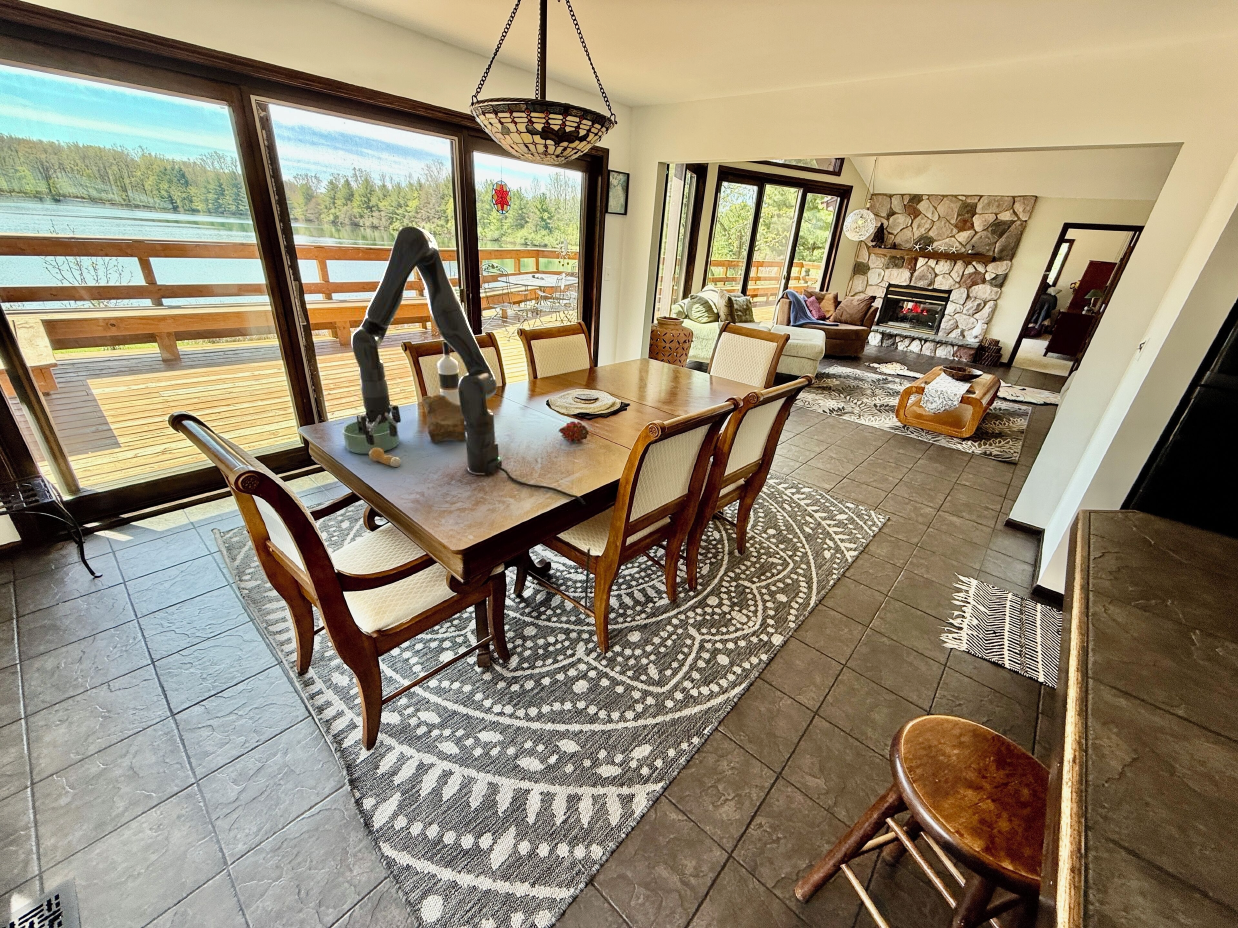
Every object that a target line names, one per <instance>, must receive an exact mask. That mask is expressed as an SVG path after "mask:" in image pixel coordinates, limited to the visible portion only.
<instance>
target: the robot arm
mask: <svg viewBox="0 0 1238 928" xmlns="http://www.w3.org/2000/svg"><path fill="white" fill-rule="evenodd" d="M439 250H440V249H439V247H438V244H437V242H436V240H435V238H434V236H433V235H432V234H430V233H429V232H428V231H427V230H424V229H423V228H419V227H417V226H413V225H407V226H404V227H402V228H400V229H399V231H398V232H397V233H396V237H395V239H394V243H393V246H392V249H391V252H390V256H389V259H388V261H387V265H386V268H385V270H384V273H383V276H382V278H381V280H380V283H379V285H378V287H377V289H376V291H375V293H374V295H373V297H372V298H371V301H370V302H369V305H368V307H367V309H366V312H365V317H364V319H363V321H362V323H361V325H360V326H359V328H358V329H357V330H355V331H354V332H353V333H352V335H351V339H350V341H351V349H352V352H353V355H354V357H355V358H354V359H355V361H356V363H357V366H358V373H359V379H360V391H361V398H362V404H363V407H364V410H365V414H356V421H357V424H358V432H359V433H361V434H364V435H365V436H366V442H367V443H368V444H369V445H374V444H375V443H374V437H373V434H372V433H373V431H374V429H375V428H376V427H377V425H379V424H381V423H385V422H387V423H388V424H390V425H389V432H390V436H392V437H395V436H396V434H397V430H396V425H397V426H398V424H401V422H402V418H401V414H400V408H399V406H398V405H396V404H393V403H392V404H391V399H390V394H389V386H388V383H387V382H388V381H387V378H386V372H385V366H384V362H383V361H382V359H380V353H379V347H380V346H381V345H382V343H383V341H384V339H385V336H386V334H387V331H388V329H389V326H390V325H391V324H392V322H393V320H394V319H395V317H396V314H397V313H398V311H399V310H400V307H401V305H402V301H403V297H404V293H405V289H406V286H407V282H408V280H409V277H410V276H411V274H412V272H413V271H414V269H417V272H418V273H419V275H420V278H421V280H422V283H423V285H424V288H425V294H426V300H427V306H428V310H429V314H430V315H431V316H430V317H431V319H432V321H433V323H434V325H435V328H436V330H437V332H438V334H439V336H440V337H441V339H443V341H445V342H446V343H447V344H448V345H449V348H451V349H452V350H453V351H454V352H455V353H456V354H457V355H458V356H459V358H460V359H461V361H462V364H463V365H464V367H465V370H466V372H467V373H466V374H464V375H462V376H461V377H460V378H459V383H458V395H459V402H460V409H461V413H462V415H463V417H464V424H465V436H466V441H465V446H466V459H467V472H468V473H469V474H471V475H474V476H486V477H489V476H490V475H492V474H494V473H496V472H497V471H499V470H500V471H502V472H503V473H504V474H505V475H506V476H507V478H509V480H511V481H512V482H513V483H516V484H518V485H521V486H525V487H529V488H536V489H546V490H550V491H553V492H556V493H559V494H562V495H564V496H566V497H569V498H574V499H577V500H578V501H579V502H580V503H581V504H582V505H586V502H585V501H584V500H583V498H582V497H580V496H579V495H577V494H572V493H568V492H566V491H564V490H561V489H558V488H556V487H552V486H549V485H548V486H547V485H542V484H541V485H540V484H533V483H528V482H524V481H521V480H518V479H516V478H514V477H513V476H512V475H510V473H509V471H507V470H506V469H505V468H504V467H503V460H502V459H500V455H499V443H498V442H496V429H495V428H496V427H495V426H496V425H495V414H494V412H493V410H490V409H488V404H487V399H489V398H491V397H493V396H494V395H495V394H496V392H497V389H498V388H497V387H498V385H497V380H496V377H495V374H494V373H493V371H492V369H491V368H490V365H489V364H488V362H487V360H486V359H485V356H484V355H483V353H482V351H481V348H480V346H479V344H478V342H477V340H476V338H475V335H474V333H473V330H472V328H471V326H470V323H469V320H468V318H467V316H466V313H465V311H464V309H463V307H462V304H461V303H460V300H459V298H458V296H457V294H456V291H455V289H454V287H453V285H452V283H451V281H450V279H449V277H448V275H447V272H446V270H445V269H446V268H445V266H444V263H443V260H442V256H441V253H440V251H439ZM390 414H391V415H390ZM367 419H368V420H367ZM371 423H373V424H372V425H371ZM590 560H591V547H589V548H587V551H586V569H585V570H586V572H585V586H584V587H585V588H584V611H587V610H588V595H589V594H588V593H589V577H590V564H591V563H590V562H591V561H590Z"/></svg>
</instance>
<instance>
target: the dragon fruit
mask: <svg viewBox="0 0 1238 928" xmlns="http://www.w3.org/2000/svg"><path fill="white" fill-rule="evenodd" d="M558 433H560V434H561V435H560V436H561V437H562V439H564V440H565V439H567V440H568V441H570V443H571V444H572V443H575V441H576V443H580V442H581V441H584V440H586V439H588V435H589V430H588V428H587V426H585V425H584V424H583V423H582V422H581V421H569V422H567V423H566V425H564V426H562V427H561V428H559V429H558Z"/></svg>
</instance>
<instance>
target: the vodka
mask: <svg viewBox="0 0 1238 928" xmlns="http://www.w3.org/2000/svg"><path fill="white" fill-rule="evenodd" d="M441 343H442V353H443V357H442V358H441V359H439V360H438V362H437V363H436V368H437V373H438V382H439V383H438V384H439V392H440V395H444V396H446V397H447V398H448V399H449V400H450V401H451V402H453V403H456V404H458V405H460V402H459V395H458V383H459V380H460V375H459V374H460V373H459V371H460V370H459V363H458V361H457V360H455V359H454V358H453V357H451V349H450V348H451V347H450V346H449V345H448V344H447V343H446V342H445V341H444V340H443V341H442V342H441Z"/></svg>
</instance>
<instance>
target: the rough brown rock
mask: <svg viewBox="0 0 1238 928" xmlns="http://www.w3.org/2000/svg"><path fill="white" fill-rule="evenodd" d="M421 403H422V406H423V408H424V411H425V417H426V425H427V426H426V427H427V434H428V437H429V438H430V439H429V440H430V441H431V442H432V443H436V442H439V443H440V442H444V441H456V442H457V441H458V442H466V436H465V424H464V417H463V415H462V413H461V409H460V405H458V404H456V403H453V402H451V401H450V400H449V399H448V398H447V397H446V396H444V395H441V394H435V395H432V396H431V395H425V396H423V397H421Z"/></svg>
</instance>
